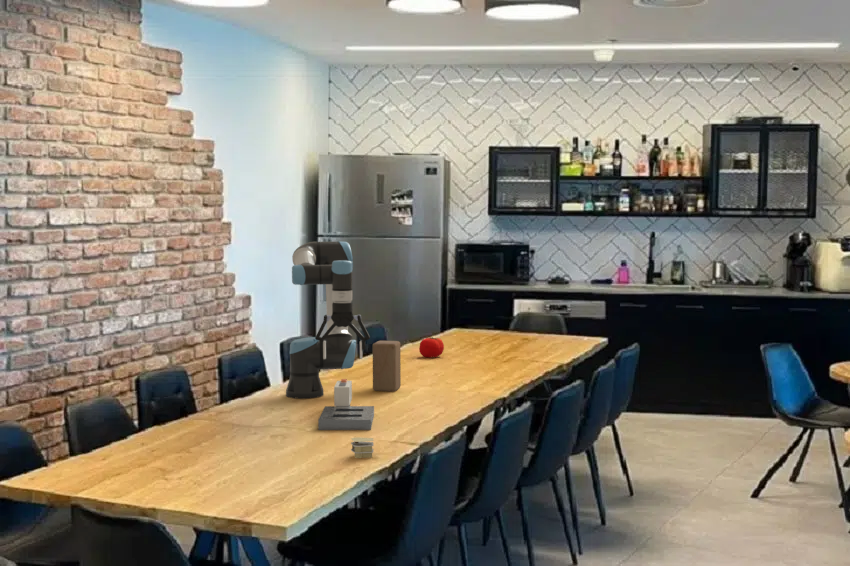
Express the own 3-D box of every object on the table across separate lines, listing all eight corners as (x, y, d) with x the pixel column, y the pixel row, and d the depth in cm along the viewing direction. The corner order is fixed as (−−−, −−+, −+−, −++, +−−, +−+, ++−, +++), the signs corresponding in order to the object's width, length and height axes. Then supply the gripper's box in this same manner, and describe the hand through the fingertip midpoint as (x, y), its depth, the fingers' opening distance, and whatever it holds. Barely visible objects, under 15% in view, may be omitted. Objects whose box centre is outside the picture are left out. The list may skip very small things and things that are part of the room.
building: (378, 453, 327) (378, 436, 326) (378, 460, 318) (378, 442, 317) (346, 453, 326) (346, 436, 326) (345, 461, 317) (345, 443, 317)
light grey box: (334, 414, 384) (334, 385, 384) (337, 406, 398) (337, 378, 397) (349, 413, 384) (349, 385, 384) (351, 406, 398) (351, 378, 397)
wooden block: (395, 392, 430) (395, 343, 428) (372, 391, 432) (371, 343, 430) (401, 387, 439) (400, 340, 438) (378, 387, 441) (377, 340, 440)
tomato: (416, 356, 529) (416, 336, 528) (440, 355, 533) (440, 335, 532) (423, 359, 518) (422, 339, 517) (447, 358, 522) (447, 338, 521)
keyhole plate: (318, 430, 358) (318, 419, 358) (325, 415, 382) (324, 406, 382) (370, 429, 358) (370, 419, 358) (374, 415, 382) (374, 406, 382)
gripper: (307, 302, 384) (308, 360, 386) (375, 302, 384) (375, 359, 386) (309, 301, 392) (310, 357, 393) (376, 300, 392) (376, 356, 393)
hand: (342, 358), depth 390 cm, fingers open, 13 cm apart
